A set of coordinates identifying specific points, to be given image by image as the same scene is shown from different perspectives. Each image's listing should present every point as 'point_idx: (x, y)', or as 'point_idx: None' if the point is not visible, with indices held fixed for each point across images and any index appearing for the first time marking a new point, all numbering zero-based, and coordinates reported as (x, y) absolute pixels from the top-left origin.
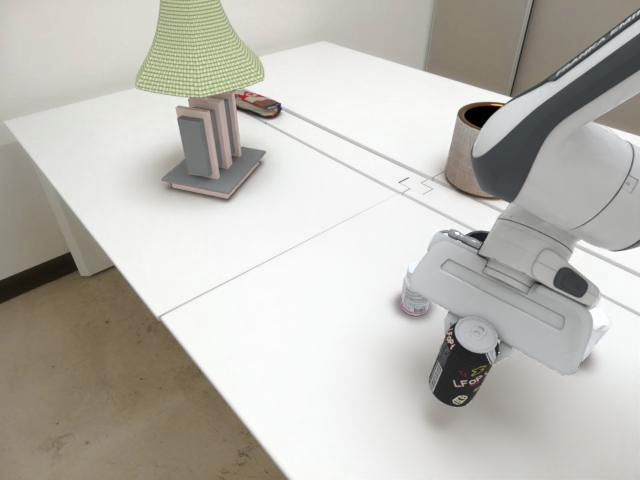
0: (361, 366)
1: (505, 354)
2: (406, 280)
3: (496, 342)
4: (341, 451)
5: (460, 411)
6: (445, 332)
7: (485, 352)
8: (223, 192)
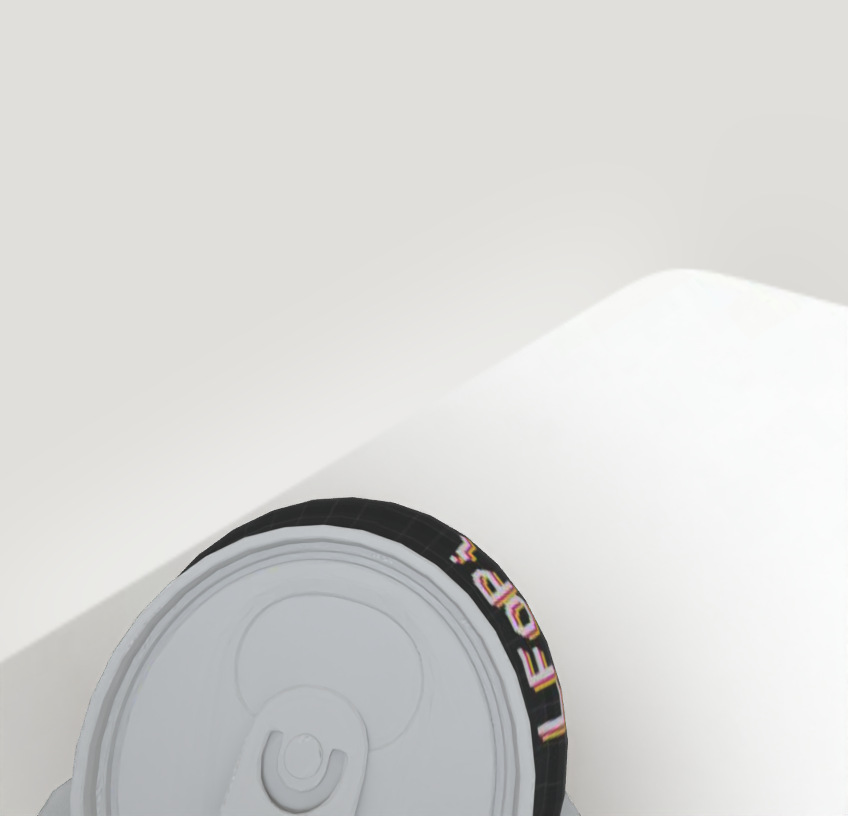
0: (726, 663)
1: (69, 802)
2: None
3: (81, 773)
4: (602, 369)
5: None
6: (564, 799)
7: (173, 584)
8: None
